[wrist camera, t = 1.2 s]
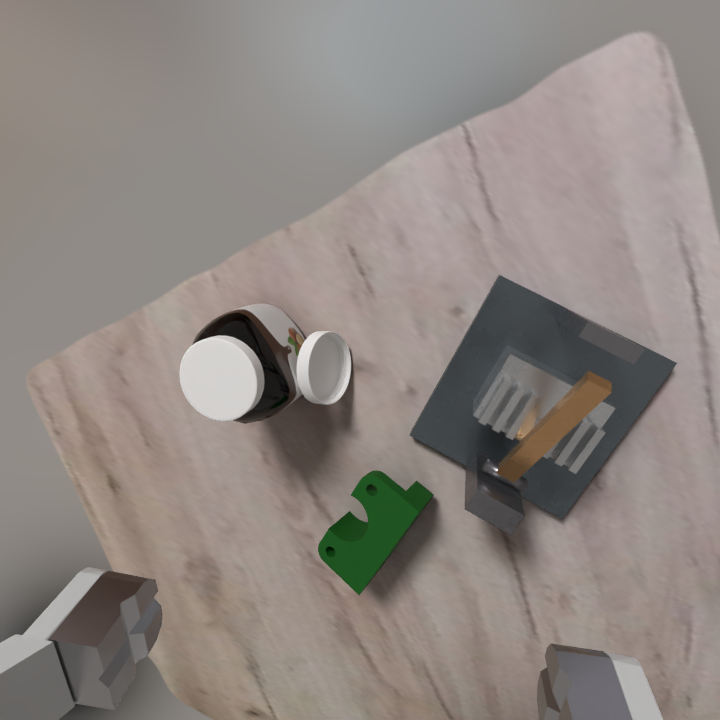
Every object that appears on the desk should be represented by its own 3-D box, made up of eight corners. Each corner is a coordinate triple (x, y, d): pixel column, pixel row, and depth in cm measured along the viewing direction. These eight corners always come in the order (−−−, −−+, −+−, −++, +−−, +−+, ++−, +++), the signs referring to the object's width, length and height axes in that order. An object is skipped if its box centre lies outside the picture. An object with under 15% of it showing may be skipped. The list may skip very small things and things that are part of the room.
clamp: (392, 458, 52) (379, 453, 43) (436, 493, 50) (431, 495, 41) (326, 545, 51) (299, 558, 42) (368, 584, 49) (348, 606, 40)
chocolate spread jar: (223, 325, 48) (149, 346, 37) (311, 271, 45) (259, 277, 33) (281, 424, 49) (225, 473, 38) (371, 379, 46) (339, 418, 34)
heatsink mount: (670, 360, 39) (732, 392, 30) (559, 512, 44) (583, 580, 35) (499, 274, 41) (506, 280, 31) (411, 430, 46) (395, 475, 36)
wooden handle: (626, 389, 29) (626, 401, 29) (521, 483, 39) (519, 495, 38) (574, 362, 30) (572, 373, 29) (482, 462, 39) (479, 473, 38)
